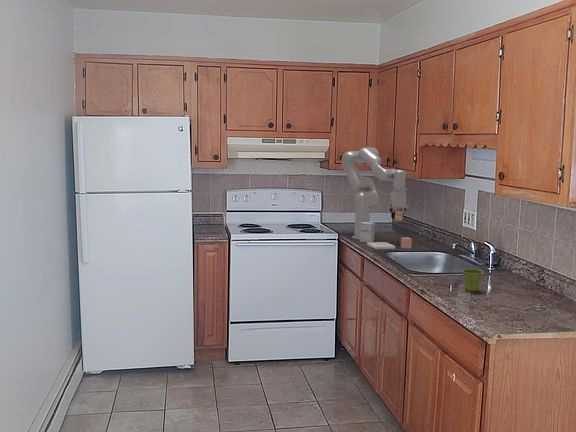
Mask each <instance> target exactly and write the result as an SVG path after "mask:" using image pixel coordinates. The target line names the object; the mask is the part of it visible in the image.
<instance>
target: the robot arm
mask: <svg viewBox="0 0 576 432" xmlns="http://www.w3.org/2000/svg"><path fill="white" fill-rule="evenodd" d="M356 164H358V165H359V164H360V165H362V164H366V165H367V166H369V167H370V168H371V172H372V174H373V176H375V177H376V178H377V179H378V180H380V181H382V182H392V191H391V192H390V195H389V200H388V201H389V202H388V205H386V208H387V209H388V210H389V211H390V216H391V220H392V219H395V213H394V211H395V210H396V209H399V210H401V211H403V216H404V214H405V212H406V211H407V210H408V208H410V207H409V205H408V203H407V193H406V191H407V190H408V188H407V187H406V177H407V176H406V175H407V174H406V170H403V169H396V168H383V167H382V166H381V165H382V159H381V157H380V153H379V150H378V149H377V148H376V147H369V146H368V147H367V146H366V147H362V148H360V149H359V150H358V151H357V150H351V151H346V152H344V153H343V154H342V157H341V166H342V168H343V171H344V172H345V173H346V176H347V179H348V182H349V185H350V186H351V189H352V190H353V191H354V192H356V194H355V195H354V199H353V200H354V206H355V211H354V212H355V214H354V215H355V218H354V219H355V220H354V235H352V236H351V238H352V239H354V240H360V231H361V223H362V222H370V217H371V214H370V213H371V212H370V208H369V206H375V205H376V204H378V203H379V199H380V198H379V197H380V196H379V194H378V190H377V189H376V186H375V184H374V181H373V180H372V178H370V177H368V176H362V175H361V173H360V170H359V168H358V167H356Z"/></svg>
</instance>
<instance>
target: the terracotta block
mask: <svg viewBox="0 0 576 432" xmlns="http://www.w3.org/2000/svg"><path fill="white" fill-rule="evenodd" d="M412 243H413V238H411V237H401V238H400V248H403V249H412V245H413V244H412Z"/></svg>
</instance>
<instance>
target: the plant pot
mask: <svg viewBox="0 0 576 432" xmlns="http://www.w3.org/2000/svg"><path fill="white" fill-rule="evenodd" d="M461 272H462V275H463V282H464V290H466V291H467V292H479V290H480V285H481V281H482V277H483V274H484V271H483V270H480V269H474V268H472V269H471V268H467V269H466V268H463V269H461Z"/></svg>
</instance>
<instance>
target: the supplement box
mask: <svg viewBox="0 0 576 432" xmlns="http://www.w3.org/2000/svg"><path fill="white" fill-rule="evenodd" d="M375 224H376V222H372V221H369V222H362V223H361V231H360V239H359V242H360V243H366V244H367V243H371V242H374V241H375V226H376V225H375Z"/></svg>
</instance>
